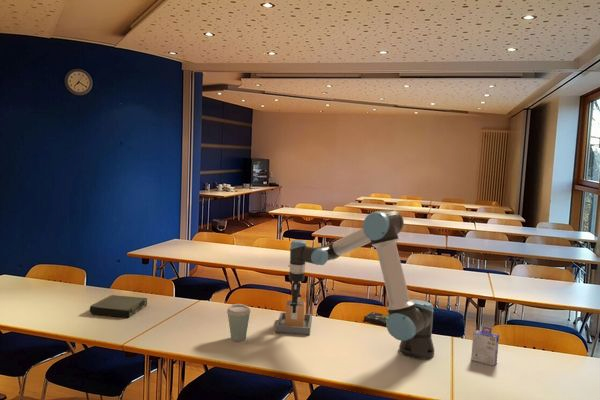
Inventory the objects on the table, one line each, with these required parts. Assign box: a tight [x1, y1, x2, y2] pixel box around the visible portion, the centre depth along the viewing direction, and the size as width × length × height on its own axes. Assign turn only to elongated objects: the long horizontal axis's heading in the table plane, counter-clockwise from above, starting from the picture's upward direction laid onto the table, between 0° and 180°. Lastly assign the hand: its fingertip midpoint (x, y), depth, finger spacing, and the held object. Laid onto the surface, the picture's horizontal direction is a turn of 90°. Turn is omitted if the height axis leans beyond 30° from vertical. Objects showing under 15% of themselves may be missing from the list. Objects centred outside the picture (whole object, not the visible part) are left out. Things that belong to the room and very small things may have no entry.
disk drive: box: [363, 311, 389, 327], centre depth 252 cm, size 10×3×15 cm
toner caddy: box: [285, 300, 306, 327], centre depth 238 cm, size 6×9×11 cm, turn 86°
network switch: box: [89, 294, 148, 319], centre depth 250 cm, size 23×23×5 cm
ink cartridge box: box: [470, 326, 500, 366], centre depth 207 cm, size 10×6×14 cm, turn 58°
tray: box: [275, 311, 313, 336], centre depth 238 cm, size 20×16×4 cm
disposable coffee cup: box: [226, 303, 251, 342], centre depth 218 cm, size 11×11×15 cm
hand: (295, 314), depth 238 cm, fingers open, 13 cm apart
